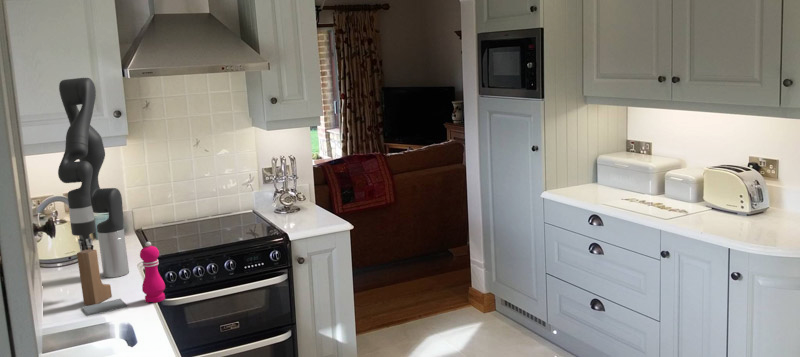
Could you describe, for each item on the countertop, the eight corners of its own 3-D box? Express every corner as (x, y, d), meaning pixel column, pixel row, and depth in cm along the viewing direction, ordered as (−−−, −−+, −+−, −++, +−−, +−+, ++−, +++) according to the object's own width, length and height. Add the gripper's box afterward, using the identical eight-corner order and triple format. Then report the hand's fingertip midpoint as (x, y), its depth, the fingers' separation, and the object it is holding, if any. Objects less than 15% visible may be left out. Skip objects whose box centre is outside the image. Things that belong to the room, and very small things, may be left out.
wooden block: (101, 296, 246) (94, 245, 243) (112, 296, 245) (105, 245, 242) (83, 305, 237) (76, 252, 234) (95, 305, 236) (88, 252, 233)
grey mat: (82, 309, 233) (82, 307, 233) (120, 300, 240) (120, 298, 240) (87, 315, 226) (87, 313, 226) (127, 306, 233) (126, 304, 233)
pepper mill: (144, 305, 233) (137, 245, 230) (143, 299, 240) (135, 241, 236) (167, 301, 236) (160, 242, 233) (165, 295, 242) (158, 237, 239)
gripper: (98, 220, 239) (104, 270, 242) (89, 215, 250) (96, 263, 253) (74, 224, 235) (81, 275, 238) (66, 219, 246) (73, 267, 249)
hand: (89, 269), depth 245 cm, fingers closed
